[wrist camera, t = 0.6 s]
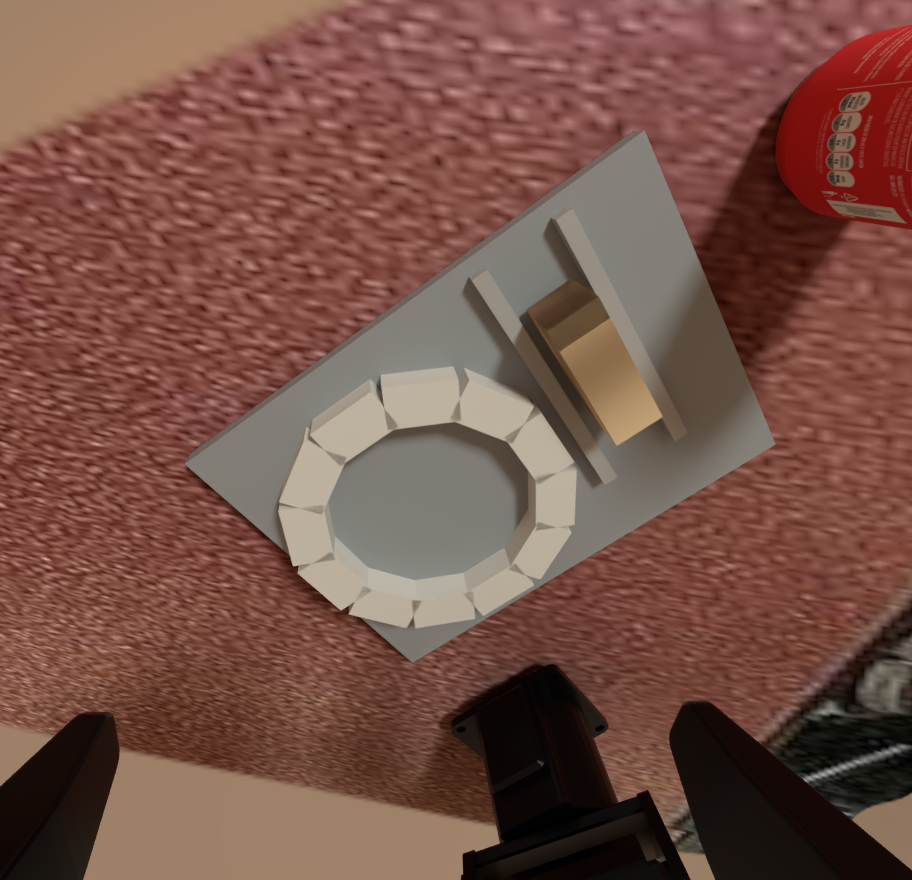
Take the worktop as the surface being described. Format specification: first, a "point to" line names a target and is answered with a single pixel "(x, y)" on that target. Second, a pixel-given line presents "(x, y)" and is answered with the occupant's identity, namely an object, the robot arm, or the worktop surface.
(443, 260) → the worktop surface
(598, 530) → the dock board
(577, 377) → the bar
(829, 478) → the worktop surface
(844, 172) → the beverage can
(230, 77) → the worktop surface
